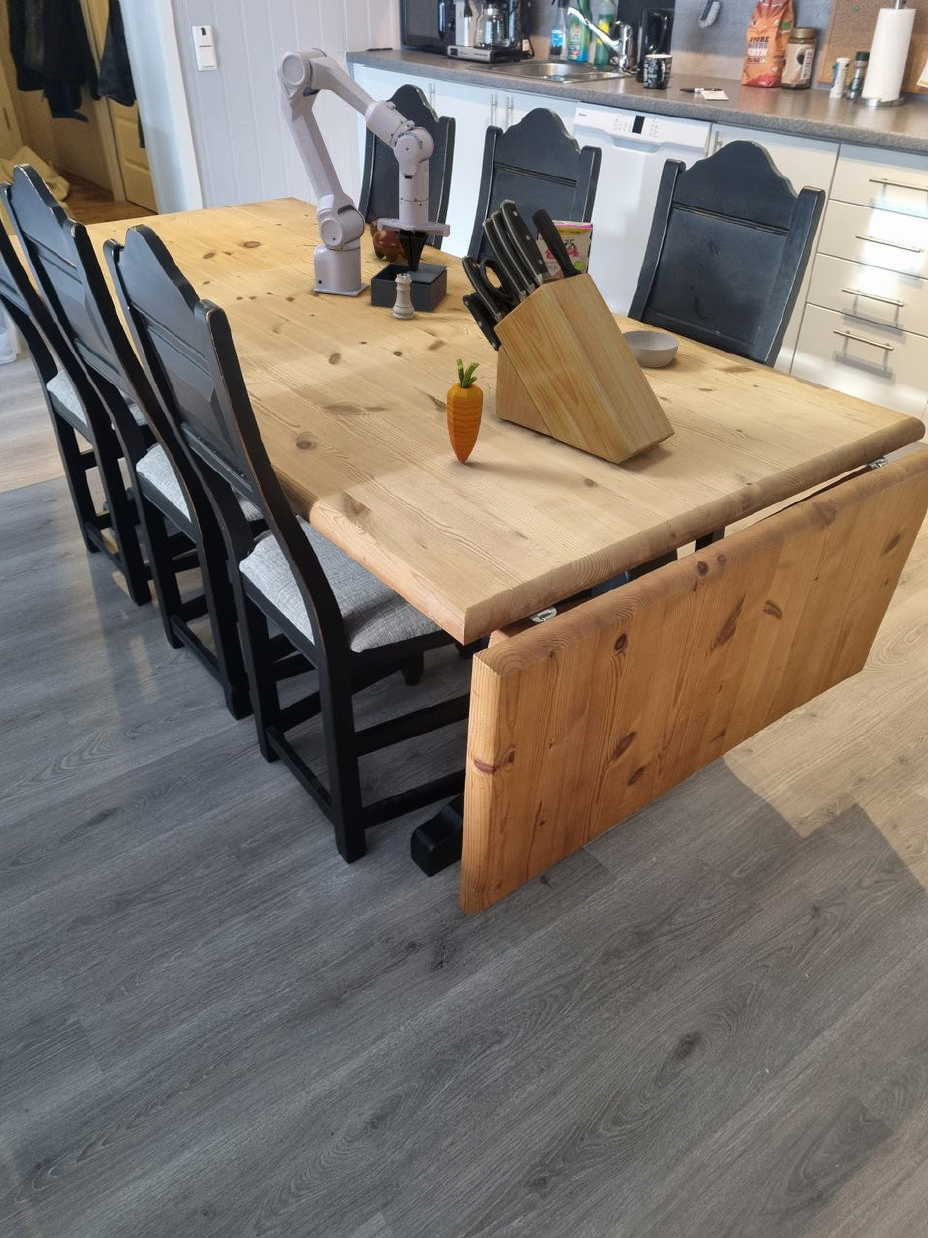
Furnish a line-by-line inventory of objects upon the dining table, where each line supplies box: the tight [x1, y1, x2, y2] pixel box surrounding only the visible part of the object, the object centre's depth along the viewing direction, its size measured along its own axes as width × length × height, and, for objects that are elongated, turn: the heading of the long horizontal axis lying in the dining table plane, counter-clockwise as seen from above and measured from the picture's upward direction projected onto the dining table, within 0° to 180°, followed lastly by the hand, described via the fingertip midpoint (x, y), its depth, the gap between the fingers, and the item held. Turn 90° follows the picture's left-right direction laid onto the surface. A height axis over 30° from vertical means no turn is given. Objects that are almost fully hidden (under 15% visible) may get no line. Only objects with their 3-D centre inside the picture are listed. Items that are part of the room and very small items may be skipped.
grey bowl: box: [622, 329, 680, 368], centre depth 169 cm, size 11×18×4 cm, turn 65°
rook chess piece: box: [391, 274, 416, 321], centre depth 182 cm, size 4×4×8 cm
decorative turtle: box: [369, 219, 407, 264], centre depth 216 cm, size 10×15×8 cm, turn 54°
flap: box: [406, 261, 448, 283], centre depth 189 cm, size 6×12×1 cm, turn 166°
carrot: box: [446, 357, 484, 464], centre depth 127 cm, size 5×5×15 cm
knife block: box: [461, 199, 676, 464], centre depth 135 cm, size 11×35×31 cm, turn 46°
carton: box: [370, 262, 448, 313], centre depth 192 cm, size 13×13×5 cm
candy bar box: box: [535, 219, 594, 279], centre depth 189 cm, size 11×5×16 cm, turn 84°
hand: (413, 270), depth 189 cm, fingers closed, pressing on flap
